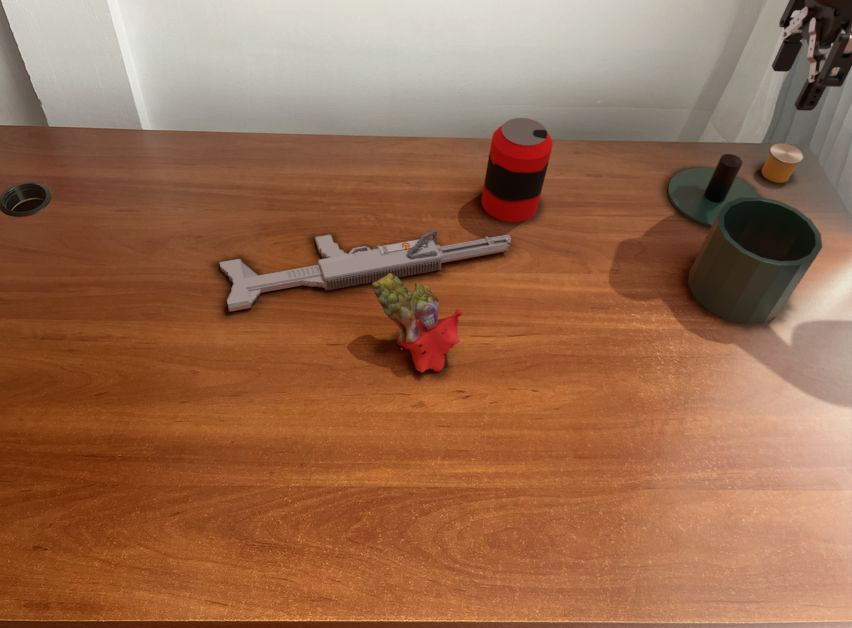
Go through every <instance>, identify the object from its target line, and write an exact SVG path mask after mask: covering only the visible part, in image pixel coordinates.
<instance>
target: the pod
mask: <svg viewBox="0 0 852 628" xmlns="http://www.w3.org/2000/svg"><path fill="white" fill-rule="evenodd" d="M803 159H804V154H803V153H802V151H801V150H800V149H798V147H796V146H794V145H792V144H788V143H783V142H782V143H781V142H780V143H779V142H778V143H775V144H773V145H771V146H770V148H769V155H768V157H767V159H766V161H765V163H764V165H763V166H762V168H761V174H762V176H763V177H764V179H767V180H768V181H770V182H773V183H778V184H783V183H787V182H788V181H789V180H790V177H792V174H793V173H794V170H795V169H796V167H797V165H798V164H800V163H801V162H802V161H803Z"/></svg>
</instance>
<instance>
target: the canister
mask: <svg viewBox="0 0 852 628" xmlns="http://www.w3.org/2000/svg"><path fill="white" fill-rule="evenodd" d="M822 241H823V240H822V234H821V232H820V231H819V229H818V228H817V226H816V225H815V223H814V222H813V220H812V219H811V218H809V217H808V216H807V215H805V214H804V213H803V212H801V211H800V210H799V209H798V208H796V207H793V206H791V205H789V204H787V203H785V202H782V201H780V200H777V199H772V198H767V197H762V196H758V197H740V198H737V199H735V200H732V201H730V202H727V203H726V204H725V205H724V206H723V207H722V209H721V210H720V211H719V212H718V214H717V216H716V218H715V220H714V222H713V224H712V226H711V227H710V229H709V231H708V232H707V235H706V237H705V239H704V241H703V243H702V244H701V247H700V248H699V250H698V253H697V254H696V257H695V259H694V260H693V263H692V265H691V267H690V269H689V271H688V281H687V284H688V285H687V286H688V287H689V290H690V292H691V293H692V296H693V298H694V299H695V301H696V302H698V303H699V304H700V305H701V306H702V307H703V308H704V309H705V310H707V311H708V312H710V313H712V314H713V315H715V316H717V317H719V318H721V319H723V320H725V321H729V322H733V323H736V324H737V323H738V324H741V325H756V324H764V323H767V322H769V321H771V320H773V319H775V318H777V317H778V316H779V314H780V312H781V311H782V310H783V308H784V306H785V305H786V303H788V300H789V299H790V297H791V296H792V294H793V293H794V291H795V290H796V288H797V287H798V286H799V284H800V282H801V281H802V279H803V278H804V276H805V274H807V272H808V270H809V269H810V267H811V266H812V264H813V263H814V261H815V259H816V258H817V257H818V256H819V254H820V252H821V250H822V249H823V242H822Z"/></svg>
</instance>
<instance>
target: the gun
mask: <svg viewBox="0 0 852 628" xmlns="http://www.w3.org/2000/svg"><path fill="white" fill-rule="evenodd" d="M430 237H432V239H431V238H430ZM314 241H315V245H316V247H317V251H318V254H319V255H320V256H321V259H318V260H317V263H318V264H316V265H315V264H314V265H310V266H304V267H298V268H293V269H287V270H281V271H276V272H271V273H265V274H259V275H258V273H256V272H254V270H252V268H250V267H248V265H246V263H244V262H242V259H241V258H236V259H230V260H225V261H224V260H223V261H219V267H220V271H221V272H223V273H224V275H225V276H226V277H228V280H229V282H231V283H232V285H231V286H232V287H230V289H231V291H230V293H229V295H228V298H227V299H226V302H227V308H228V312H235V311H240V310H247V309H250V308H251V309H252V305H253V304H254V302H255V301H256V300H257V299H258V297H259V296H260V295H261V294H262V293H266V292H272V291H278V290H285V289H289V288H295V287H300V286H304V287H312V288H313V287H318V288H323V289H324V290H325V291H332V290H336V289H342V288H343V289H344V288H348V287H353V286H359V285H365V284H369V283H370V284H371V283H374V282H376V281H378V280H379V279H381V278H383V277H385V276H387V275H388V274H390V273H391V274H393V275H394V276H396V277H398V278H403V277H407V276H408V277H409V276H414V275H419V274H424V273H430V272H435V271H440V270H442V264H443V263H449V262H455V261H460V260H466V259H471V258H475V257H476V258H477V257H481V256H482V257H483V256H487V255H493V254H498V253H505V252H509V251H510V248H509V247H511V246H512V237H511V236H510V234H505V235H498V236H497V235H496V236H492V237H488V236H487V235H486V236H484V238H481V239H475V240H470V241H469V240H468V241H465V242H464V241H463V242H458V243H453V244H448V245H442V246H441V244H438V242H437V241H438V230H437V229H432V230H431V229H430V230H429V231H428V232H426V233H424V234H422V235H421V236H419V238H418V239H412V240H405V241H401V242H395V243H390V244H383V245H379V244H376V246H374V247H372V249H371V248H370V247H369V246H366V245H363V246H357V247H353V248H352V249H351V250H350V251H348V253H347V252H345V251H344V250H343V249H340V247H339V245H338V243H337V242H334V239H333V237H332V235H331V234H325V235H319V236H315V237H314Z"/></svg>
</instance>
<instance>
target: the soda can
mask: <svg viewBox="0 0 852 628" xmlns="http://www.w3.org/2000/svg"><path fill="white" fill-rule="evenodd" d="M490 141H491V143H490V147H489V153H488V160H487V165H486V172H485V176H484V183H483V189H482V194H481V205H482V208H483V210H484V211H485V212H486V213H487V214H488V215H490V216H491V217H493V218H494V219H496V220H500V221H503V222H508V223H517V222H518V223H519V222H524V221H527V220H529V219H531V218H532V217H533V216H534V215H535V214H536V212H537V210H538V206H539V203H540V199H541V194H542V191H543V186H544V182H545V179H546V175H547V171H548V168H549V167H548V166H549V162H550V158H551V154H552V152H553V151H552V150H553V146H554V142H553V139H552V137H551V135H550V134H549V133H548V131H547V128H546V127H545V125H543V124H542V123H541V122H538V121H537V120H535V119H531V118H528V117H515V118H510V119H508V120H506V121H505V122H504V123H503V124H502V125H500V126H499V127H498V128H496V129H495V130H494V131H493V134H492V136H491V140H490Z"/></svg>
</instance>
